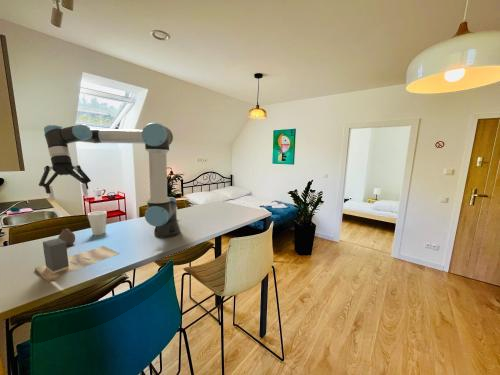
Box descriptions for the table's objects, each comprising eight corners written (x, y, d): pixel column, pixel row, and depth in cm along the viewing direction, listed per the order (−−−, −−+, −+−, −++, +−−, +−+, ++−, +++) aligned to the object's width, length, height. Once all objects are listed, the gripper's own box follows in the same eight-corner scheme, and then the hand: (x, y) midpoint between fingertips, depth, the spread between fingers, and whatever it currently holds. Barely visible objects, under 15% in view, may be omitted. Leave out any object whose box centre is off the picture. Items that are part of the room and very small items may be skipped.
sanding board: (103, 248, 110) (103, 245, 110) (120, 255, 102) (119, 253, 102) (34, 270, 88) (34, 267, 88) (49, 282, 80) (48, 279, 80)
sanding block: (69, 267, 88) (65, 242, 87) (53, 273, 84) (49, 246, 82) (61, 262, 92) (58, 238, 91) (46, 267, 88) (42, 241, 87)
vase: (55, 246, 111) (53, 230, 110) (70, 241, 118) (68, 226, 116) (64, 248, 109) (62, 232, 108) (78, 243, 115) (77, 228, 114)
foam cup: (86, 234, 128) (84, 213, 127) (101, 229, 137) (99, 210, 135) (96, 236, 125) (94, 215, 123) (111, 231, 134) (110, 211, 132)
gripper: (85, 159, 118) (94, 195, 118) (22, 158, 96) (33, 203, 96) (92, 155, 114) (101, 192, 114) (28, 153, 93) (39, 200, 92)
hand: (70, 197), depth 105 cm, fingers open, 13 cm apart
